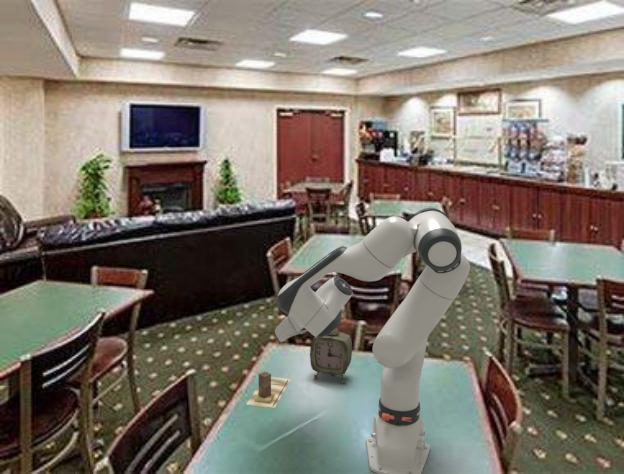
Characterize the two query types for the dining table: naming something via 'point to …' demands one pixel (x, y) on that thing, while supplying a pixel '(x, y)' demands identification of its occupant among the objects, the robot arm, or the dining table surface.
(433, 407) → the dining table surface
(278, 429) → the dining table surface
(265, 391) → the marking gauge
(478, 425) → the dining table surface
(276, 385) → the plywood board
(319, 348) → the tabletop clock
